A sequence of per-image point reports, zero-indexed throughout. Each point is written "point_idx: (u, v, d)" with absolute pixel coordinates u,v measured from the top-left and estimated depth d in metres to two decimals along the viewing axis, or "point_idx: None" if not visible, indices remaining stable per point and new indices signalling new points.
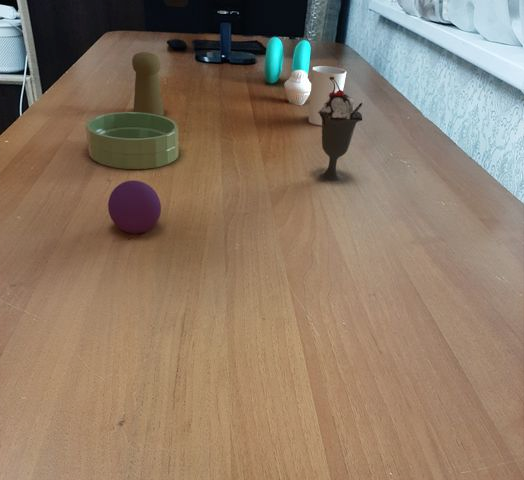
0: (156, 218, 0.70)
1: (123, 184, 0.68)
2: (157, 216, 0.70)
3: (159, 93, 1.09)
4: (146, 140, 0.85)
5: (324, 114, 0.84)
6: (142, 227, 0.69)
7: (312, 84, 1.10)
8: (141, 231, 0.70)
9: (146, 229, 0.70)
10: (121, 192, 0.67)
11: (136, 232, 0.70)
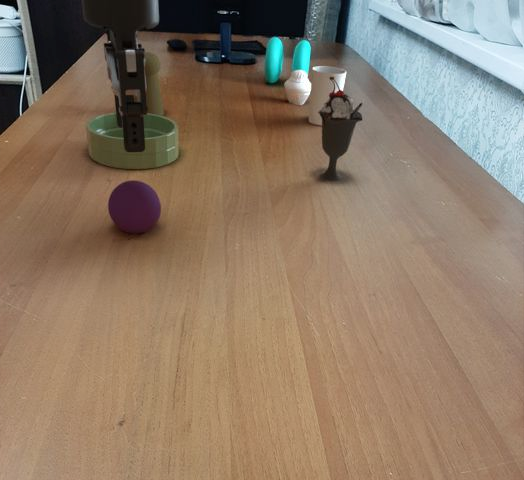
0: (156, 218, 0.70)
1: (123, 184, 0.68)
2: (157, 216, 0.70)
3: (159, 93, 1.09)
4: (146, 140, 0.85)
5: (324, 114, 0.84)
6: (142, 227, 0.69)
7: (312, 84, 1.10)
8: (141, 231, 0.70)
9: (146, 229, 0.70)
10: (121, 192, 0.67)
11: (136, 232, 0.70)
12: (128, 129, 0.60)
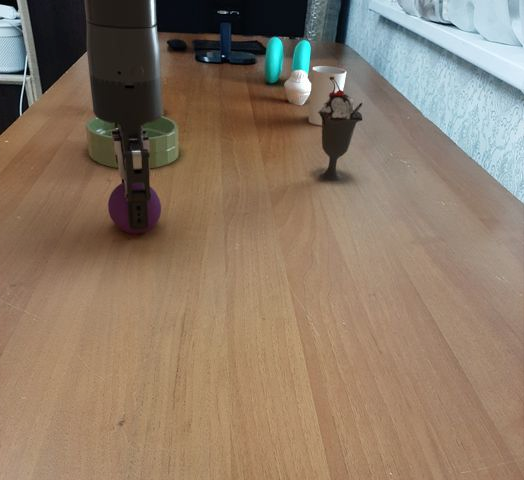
0: (156, 218, 0.70)
1: (123, 184, 0.68)
2: (157, 216, 0.70)
3: None
4: None
5: (324, 114, 0.84)
6: None
7: (312, 84, 1.10)
8: (141, 231, 0.70)
9: (146, 229, 0.70)
10: (121, 192, 0.68)
11: (136, 232, 0.70)
12: (133, 211, 0.66)
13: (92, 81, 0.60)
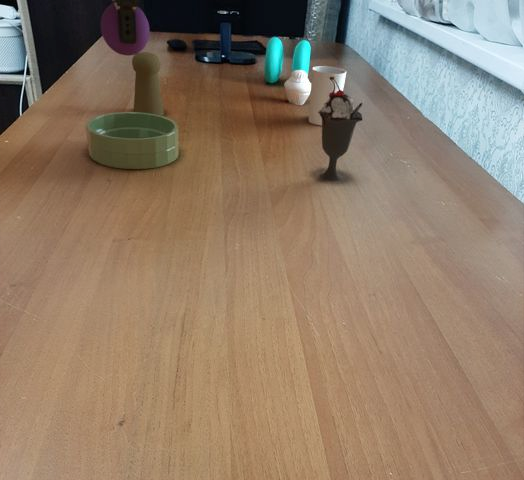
0: (145, 38, 0.76)
1: None
2: (145, 36, 0.76)
3: (159, 93, 1.09)
4: (146, 140, 0.85)
5: (324, 114, 0.84)
6: (132, 44, 0.75)
7: (312, 84, 1.10)
8: (131, 50, 0.76)
9: (135, 48, 0.76)
10: (112, 8, 0.74)
11: (126, 51, 0.76)
12: (122, 21, 0.72)
13: None
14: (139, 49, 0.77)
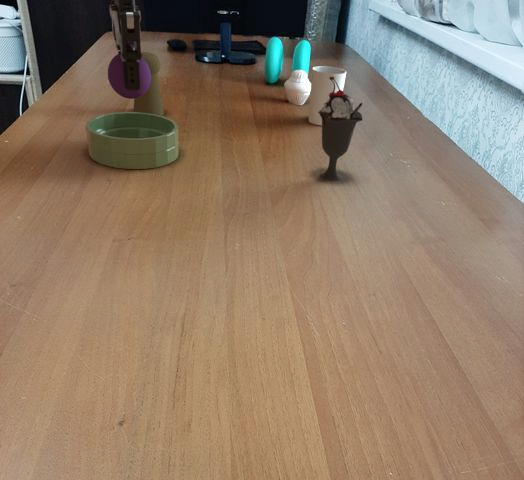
0: (147, 83, 0.85)
1: (120, 53, 0.84)
2: (148, 82, 0.85)
3: (159, 93, 1.09)
4: (146, 140, 0.85)
5: (324, 114, 0.84)
6: (135, 90, 0.85)
7: (312, 84, 1.10)
8: (135, 94, 0.86)
9: (139, 93, 0.86)
10: (118, 58, 0.83)
11: (130, 95, 0.86)
12: (127, 71, 0.81)
13: None
14: (142, 93, 0.86)
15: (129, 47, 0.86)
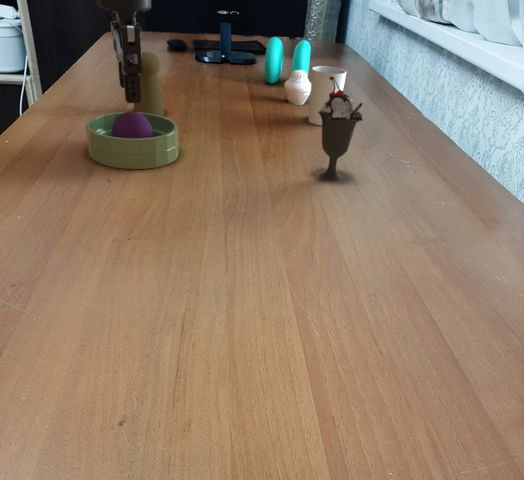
0: None
1: (123, 114, 0.89)
2: None
3: (159, 93, 1.09)
4: (146, 140, 0.85)
5: (324, 114, 0.84)
6: None
7: (312, 84, 1.10)
8: None
9: None
10: (121, 119, 0.88)
11: None
12: (128, 85, 0.82)
13: None
14: None
15: None
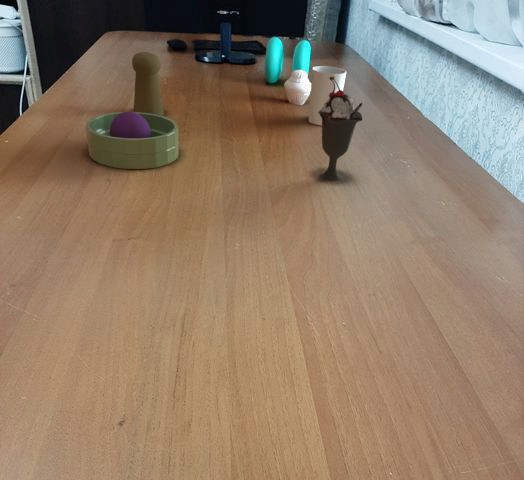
0: None
1: (119, 114, 0.89)
2: (148, 137, 0.90)
3: (159, 93, 1.09)
4: (146, 140, 0.85)
5: (324, 114, 0.84)
6: None
7: (312, 84, 1.10)
8: None
9: None
10: (118, 120, 0.88)
11: None
12: None
13: None
14: None
15: None
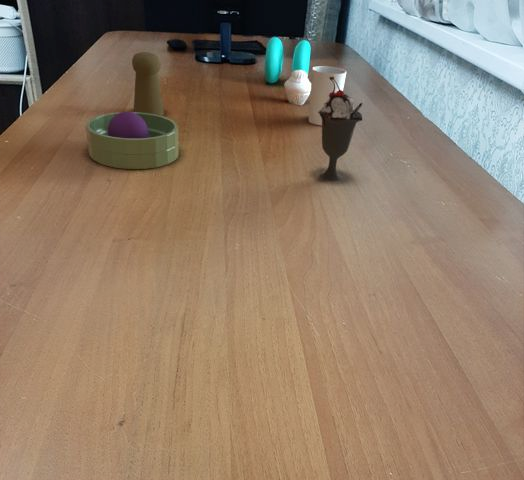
0: (145, 137, 0.90)
1: (115, 116, 0.89)
2: (145, 136, 0.90)
3: (159, 93, 1.09)
4: (146, 140, 0.85)
5: (324, 114, 0.84)
6: None
7: (312, 84, 1.10)
8: None
9: None
10: (114, 121, 0.88)
11: None
12: None
13: None
14: None
15: None
